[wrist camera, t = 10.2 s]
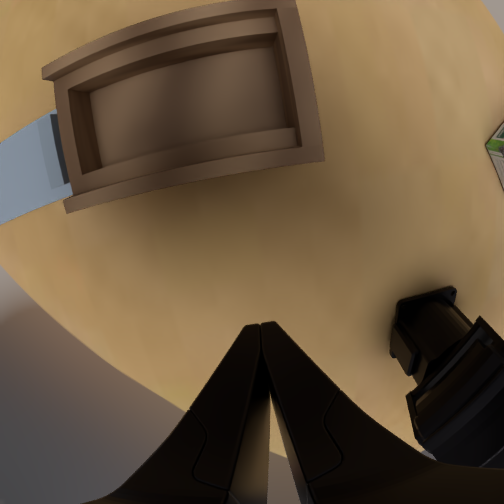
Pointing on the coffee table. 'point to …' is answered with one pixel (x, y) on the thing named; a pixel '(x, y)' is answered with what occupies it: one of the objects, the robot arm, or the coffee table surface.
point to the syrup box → (497, 152)
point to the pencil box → (186, 100)
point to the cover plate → (32, 168)
